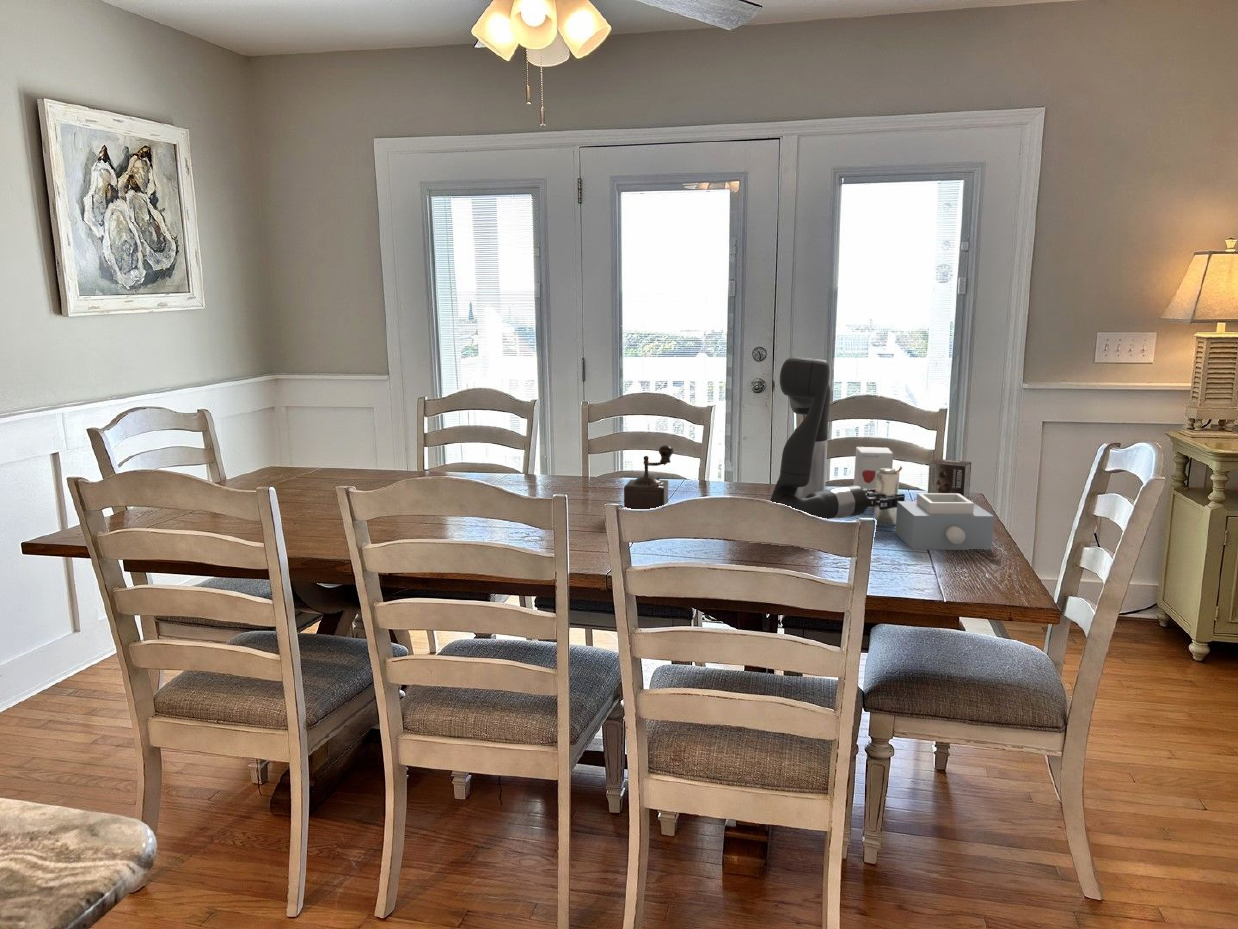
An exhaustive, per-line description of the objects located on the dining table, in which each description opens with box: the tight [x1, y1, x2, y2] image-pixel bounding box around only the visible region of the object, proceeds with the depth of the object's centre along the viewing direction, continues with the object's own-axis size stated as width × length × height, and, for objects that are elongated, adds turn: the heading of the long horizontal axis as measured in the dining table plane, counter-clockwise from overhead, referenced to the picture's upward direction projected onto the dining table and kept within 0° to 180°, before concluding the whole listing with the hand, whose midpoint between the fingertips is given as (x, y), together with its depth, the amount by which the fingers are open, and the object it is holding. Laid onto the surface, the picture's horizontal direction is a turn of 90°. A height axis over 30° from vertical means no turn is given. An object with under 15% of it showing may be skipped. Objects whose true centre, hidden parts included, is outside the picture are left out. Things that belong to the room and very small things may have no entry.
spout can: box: [873, 465, 903, 526], centre depth 233 cm, size 7×6×14 cm
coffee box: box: [927, 458, 972, 500], centre depth 231 cm, size 9×6×16 cm
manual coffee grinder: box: [623, 445, 674, 509], centre depth 238 cm, size 16×11×18 cm
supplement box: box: [853, 446, 894, 489], centre depth 254 cm, size 9×9×15 cm
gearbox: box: [894, 492, 995, 551], centre depth 215 cm, size 18×17×10 cm
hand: (892, 494), depth 234 cm, fingers open, 7 cm apart
